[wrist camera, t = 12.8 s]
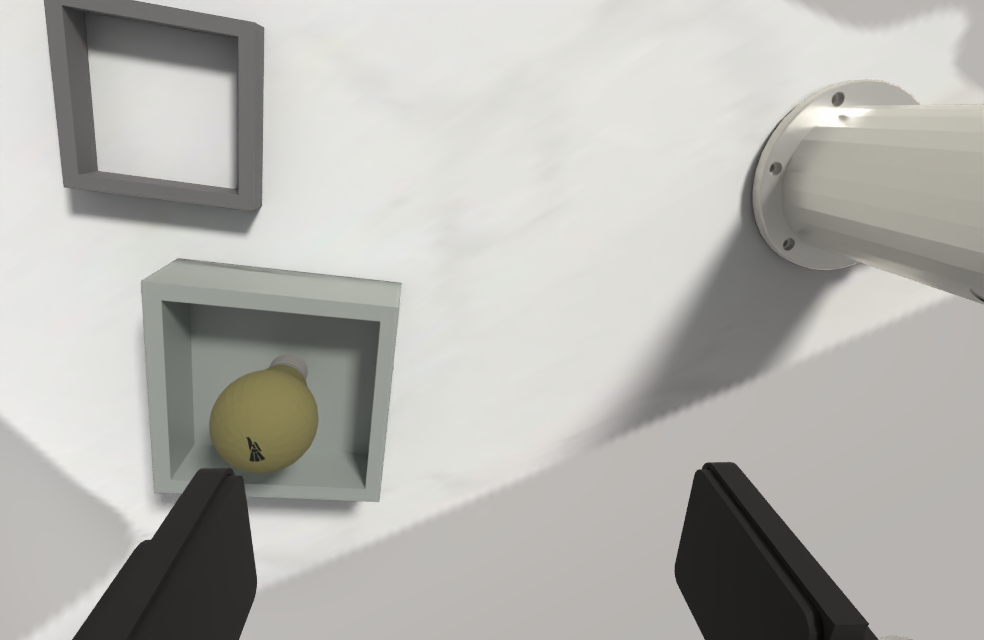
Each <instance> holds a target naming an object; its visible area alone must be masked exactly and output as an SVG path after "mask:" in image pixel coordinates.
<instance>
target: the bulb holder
mask: <svg viewBox="0 0 984 640" xmlns="http://www.w3.org/2000/svg"><path fill="white" fill-rule="evenodd" d="M44 6H45V15H46V25H47V34H48V44H49V53H50V62H51V72H52V81H53V91H54V100H55V109H56V119H57V128H58V137H59V147H60V156H61V166H62V175H63V184H64V187H65V188H73V189H81V190H89V191H97V192H105V193H113V194H121V195H129V196H137V197H145V198H153V199H161V200H169V201H176V202H184V203H192V204H200V205H208V206H216V207H224V208H232V209H240V210H248V211H254V210H256V209H257V208H259V207H261V206H262V157H263V76H264V27H262V26H260V25H258V24H256V23H255V22H249V21H244V20H238V19H233V18H227V17H222V16H216V15H211V14H205V13H200V12H194V11H189V10H183V9H178V8H172V7H167V6H161V5H156V4H150V3H145V2H139V1H134V0H44ZM84 12H89V13H94V14H100V15H106V16H111V17H117V18H123V19H128V20H134V21H140V22H145V23H151V24H157V25H162V26H168V27H174V28H179V29H185V30H191V31H196V32H202V33H208V34H213V35H219V36H225V37H231V38H236V39H238V171H239V190H237V189H230V188H222V187H214V186H207V185H199V184H192V183H184V182H177V181H169V180H161V179H154V178H146V177H139V176H131V175H123V174H116V173H108V172H101V171H98V168H97V156H96V145H95V133H94V121H93V110H92V98H91V86H90V74H89V63H88V51H87V39H86V28H85V16H84Z"/></svg>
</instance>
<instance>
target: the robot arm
mask: <svg viewBox="0 0 984 640" xmlns="http://www.w3.org/2000/svg"><path fill="white" fill-rule="evenodd" d="M770 167H771V168H770ZM753 210H754V215H755V220H756V224H757V226H758V228H759V231H760V233H761V235H762V237H763V238H764V240H765V241H766V242H767V244H768V245H769V247H770V248H771V249H772V250H774V251H775V252H776V253H777V254H778V255H779V256H781V257H782V258H784V259H786V260H788V261H790V262H792V263H794V264H797V265H800V266H803V267H805V268H809V269H817V270H832V269H840V268H844V267H847V266H851V265H854V264H857V263H859V262H861V263H864V264H867V265H870V266H872V267H875V268H878V269H881V270H884V271H887V272H890V273H893V274H896V275H899V276H902V277H905V278H908V279H911V280H914V281H916V282H919V283H922V284H925V285H928V286H931V287H934V288H937V289H940V290H943V291H946V292H949V293H952V294H955V295H958V296H960V297H964V298H966V299H969V300H972V301H975V302H978V303H981V304H984V104H954V105H920V104H919V102H918V101H917V100H916V99H915V98H914V97H913V96H912V95H911V94H910V93H908V92H907V91H905V90H904V89H902V88H901V87H899V86H897V85H894V84H891V83H888V82H885V81H879V80H854V81H846V82H842V83H839V84H835V85H831V86H829V87H827V88H824V89H822V90H820V91H818V92H816V93H814V94H812V95H811V96H810V97H808V98H807V99H805V100H804V101H803V102H801V103H800V104H798V105H797V106H796V107H795V108H794V109H793V110H792V111H791V112H790V113H789V114H788V115H787V116H786V117H785V118H784V119H783V120H782V122H781V123H780V124H779V126H778V127H777V128H776V130H775V131H774V132H773V134H772V135H771V137H770V139H769V140H768V142H767V144H766V146H765V148H764V150H763V152H762V154H761V157H760V160H759V163H758V166H757V169H756V172H755V178H754V184H753ZM675 578H676V582H677V584H678V586H679V588H680V590H681V592H682V594H683V596H684V598H685V600H686V602H687V604H688V606H689V609H690V610H691V613H692V615H693V616H694V618H695V620H696V622H697V625H698V627H699V628H700V630H701V633H702V635H703V637H704V639H705V640H912V639H909V638H905V637H898V636H887V637H881V638H880V639H878V638H877V637H876V636H875V635H874V634H873V632H872V631H871V630H870V629H869V627H868V625H869V623H868V622H867V621H866V620H865V618H864V617H863V616H862V615H861V614H860V612H859V611H858V610H857V609H856V608H855V606H854V605H853V604H852V603H851V602H850V600H849V599H848V598H847V597H846V596H845V595H844V593H843V592H842V591H841V590H840V588H839V587H838V586H837V585H836V584H835V582H834V581H833V580H832V579H831V578H830V576H829V575H828V574H827V573H826V572H825V570H824V569H823V568H822V567H821V566H820V564H819V563H818V562H817V561H816V560H815V558H814V557H813V556H812V555H811V554H810V552H809V551H808V550H807V549H806V548H805V546H804V545H803V544H802V543H801V542H800V540H799V539H798V538H797V537H796V536H795V534H794V533H793V532H792V531H791V530H790V528H789V527H788V526H787V525H786V524H785V522H784V521H783V520H782V519H781V518H780V516H779V515H778V514H777V513H776V512H775V510H773V508H772V507H771V506H770V504H769V503H768V502H767V501H766V500H765V498H764V497H763V496H762V495H761V493H760V492H759V491H758V490H757V489H756V488H755V486H754V485H753V484H752V483H751V482H750V480H749V479H748V478H747V477H746V475H745V474H744V473H743V472H742V471H741V469H740V468H739V467H738V466H737V465H736V464H735V463H732V462H726V463H725V462H723V463H722V462H716V463H705V464H704V465H703V467H702V470H697V471H696V472H695V475H694V480H693V484H692V489H691V494H690V498H689V502H688V507H687V512H686V516H685V521H684V526H683V531H682V535H681V539H680V544H679V549H678V553H677V558H676V563H675ZM256 588H257V575H256V568H255V560H254V553H253V545H252V538H251V530H250V523H249V515H248V508H247V500H246V493H245V485H244V479H243V477H242V476H241V475H235V474H234V471H233V469H231V468H201V469H199V470H198V471H197V472H196V474H195V475H194V477H193V478H192V480H191V481H190V483H189V484H188V486H187V487H186V489H185V490H184V492H183V493H182V494H181V496H180V497H179V499H178V500H177V502H176V503H175V505H174V506H173V508H172V509H171V511H170V512H169V514H168V515H167V517H166V518H165V520H164V521H163V523H162V524H161V526H160V527H159V529H158V530H157V532H156V533H155V535H154V536H153V538H152V539H151V540H145V541H143V542H141V543H140V544H139V545H138V546H137V547H136V549H135V550H134V551H133V553H132V554H131V555H130V557H129V558H128V560H127V561H126V563H125V564H124V566H123V567H122V568H121V570H120V571H119V573H118V574H117V576H116V577H115V579H114V580H113V581H112V583H111V584H110V586H109V587H108V589H107V590H106V592H105V593H104V595H103V596H102V597H101V599H100V600H99V602H98V603H97V605H96V606H95V608H94V609H93V610H92V612H91V613H90V615H89V616H88V618H87V619H86V621H85V622H84V623H83V625H82V626H81V628H80V629H79V631H78V632H77V634H76V635H75V636H74V638H73V639H72V640H239V638H240V635H241V633H242V630H243V627H244V625H245V622H246V619H247V617H248V614H249V612H250V609H251V606H252V604H253V601H254V598H255V594H256Z"/></svg>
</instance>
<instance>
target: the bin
mask: <svg viewBox="0 0 984 640" xmlns="http://www.w3.org/2000/svg"><path fill="white" fill-rule="evenodd" d="M141 293H142V309H143V324H144V340H145V355H146V371H147V387H148V402H149V418H150V434H151V449H152V465H153V480H154V493H175V494H182V493H183V492H184V490H185V489H186V487H187V486H188V484H189V483H190V481H191V480H192V478H193V477H194V475H195V474H196V472H197V471H198V470H199V469H201V468H231V469H233V471H234V474H235V475H241V476H242V477H243V479H244V485H245V493H246V496H247V497H271V498H295V499H318V500H342V501H366V502H379V500H380V491H381V481H382V471H383V461H384V451H385V442H386V432H387V422H388V412H389V402H390V393H391V383H392V373H393V363H394V353H395V344H396V334H397V324H398V314H399V304H400V293H401V283H397V282H388V281H379V280H370V279H361V278H352V277H343V276H333V275H324V274H315V273H306V272H297V271H288V270H279V269H270V268H261V267H251V266H242V265H233V264H224V263H215V262H206V261H197V260H188V259H176V260H174V261H173V262H171V263H170V264H168V265H166V266H165V267H163V268H161V269H160V270H158V271H156V272H155V273H153V274H152V275H150V276H148V277H147V278H145V279H143V280H142V281H141ZM286 354H290V355H295V356H297V357H299V358H301V359H302V360H303V361H304V362H305V364H306V366H307V369H308V375H307V378H306V383H307V387H308V388H309V390H310V391H311V393H312V395H313V396H314V399H315V401H316V404H317V409H318V417H319V420H318V428H317V432H316V435H315V438H314V440H313V442H312V444H311V446H310V447H309V449H308V450H307V451H306V452H305V454H304V455H303V456H302V457H301V458H299V459H298V460H297V461H296V462H295V463H293V464H292V465H290V466H288V467H286V468H284V469H281V470H278V471H275V472H272V473H266V474H253V473H247V472H244V471H241V470H238V469H236V468H234V467H232V466H230V465H229V464H228V463H227V462H225V461H224V460H223V459H222V458H221V457H220V456H219V454H218V452H217V451H216V449H215V447H214V446H213V444H212V441H211V438H210V429H209V421H210V415H211V411H212V408H213V406H214V404H215V402H216V400H217V398H218V397H219V395H220V394H221V393H222V392H223V390H224V389H225V388H226V387H227V386H228V385H229V384H231V383H232V382H234V381H235V380H237V379H238V378H240V377H242V376H244V375H246V374H248V373H252V372H255V371H260V370H265V369H267V368H269V367H270V364H271V363H272V361H273V360H274V359H275V358H277V357H279V356H281V355H286Z"/></svg>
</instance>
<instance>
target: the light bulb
mask: <svg viewBox="0 0 984 640" xmlns="http://www.w3.org/2000/svg"><path fill="white" fill-rule="evenodd" d="M307 375H308V369H307V366H306V364H305V362H304V361H303V360H302V359H301V358H299V357H297V356H295V355H290V354H286V355H281V356H279V357H277V358H275V359H274V360H273V361H272V363H271V364H270V367H269V368H267V369H265V370H260V371H255V372H252V373H248V374H246V375H244V376H242V377H240V378H238V379H237V380H235V381H234V382H232V383H231V384H229V385H228V386H227V387H226V388H225V389H224V390H223V392H222V393H221V394H220V395H219V397H218V398H217V400H216V402H215V404H214V406H213V408H212V411H211V415H210V421H209V429H210V438H211V441H212V444H213V446H214V447H215V449H216V451H217V452H218V454H219V456H220V457H221V458H222V459H223V460H224V461H225V462H227V463H228V464H229V465H230V466H232V467H234V468H236V469H238V470H241V471H244V472H247V473H253V474H266V473H272V472H275V471H278V470H281V469H284V468H286V467H288V466H290V465H292V464H293V463H295V462H296V461H297V460H298V459H299V458H301V457H302V456H303V455H304V454H305V452H306V451H307V450H308V449H309V447H310V446H311V444H312V442H313V440H314V438H315V435H316V432H317V428H318V420H319V417H318V409H317V404H316V401H315V399H314V396H313V395H312V393H311V391H310V390H309V388H308V387H307V383H306V378H307Z"/></svg>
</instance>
